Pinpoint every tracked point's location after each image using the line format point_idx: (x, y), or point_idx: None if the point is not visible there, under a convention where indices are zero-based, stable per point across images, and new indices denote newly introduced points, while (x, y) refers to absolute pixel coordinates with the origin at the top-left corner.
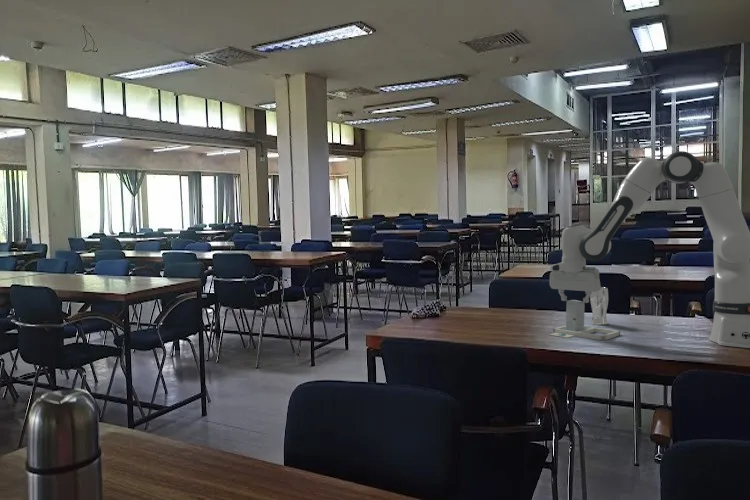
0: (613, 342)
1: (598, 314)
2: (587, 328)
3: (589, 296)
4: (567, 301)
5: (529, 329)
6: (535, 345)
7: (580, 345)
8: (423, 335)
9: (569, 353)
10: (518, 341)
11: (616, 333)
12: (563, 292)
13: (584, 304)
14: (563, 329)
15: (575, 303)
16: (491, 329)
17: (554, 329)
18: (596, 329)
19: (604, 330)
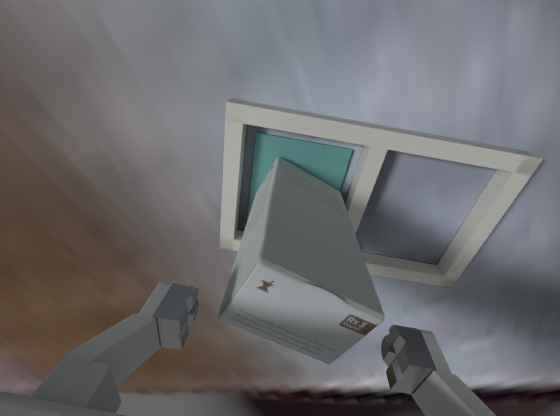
0: (481, 287)
1: None
2: (345, 140)
3: (469, 399)
4: (232, 322)
5: (117, 223)
6: (269, 374)
7: (377, 346)
8: (7, 375)
9: (369, 400)
10: (211, 358)
11: (511, 195)
12: (108, 348)
13: (379, 303)
14: (239, 190)
15: (321, 355)
16: (32, 275)
17: (228, 247)
18: (399, 150)
19: (446, 159)
